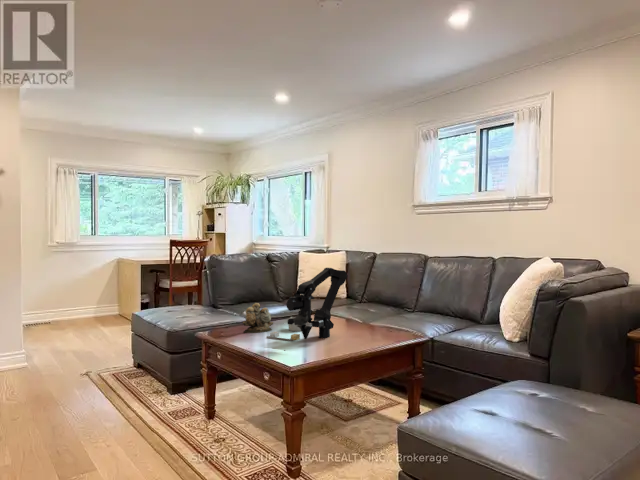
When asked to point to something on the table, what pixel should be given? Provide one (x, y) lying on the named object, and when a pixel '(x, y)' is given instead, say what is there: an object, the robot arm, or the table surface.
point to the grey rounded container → (293, 327)
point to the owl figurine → (257, 319)
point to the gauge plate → (280, 338)
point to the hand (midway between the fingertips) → (305, 338)
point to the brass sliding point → (295, 337)
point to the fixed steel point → (274, 334)
